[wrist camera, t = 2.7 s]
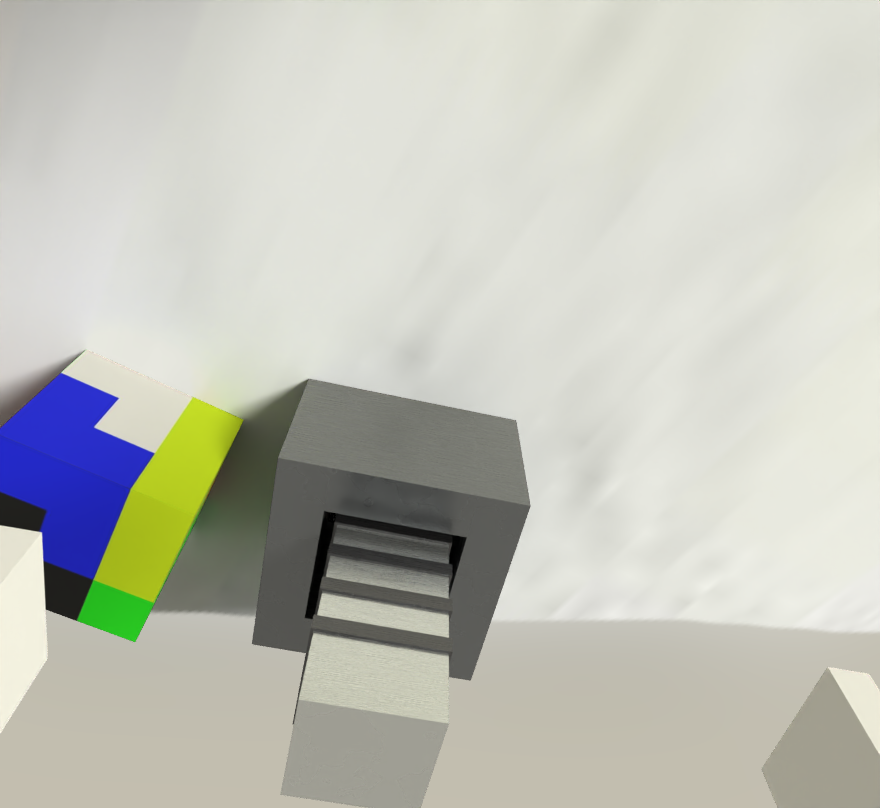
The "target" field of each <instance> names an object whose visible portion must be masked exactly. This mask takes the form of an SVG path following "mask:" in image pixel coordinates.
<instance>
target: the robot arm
mask: <svg viewBox="0 0 880 808" xmlns="http://www.w3.org/2000/svg"><path fill="white" fill-rule="evenodd" d="M47 652H48V651H47V630H46V609H45V588H44V567H43V546H42V532H36V531H30V530H25V529H19V528H13V527H7V526H1V525H0V733H1V731H2V730H3V728H4V727H5V725H6V724H7V722H8V720H9V719H10V717H11V716H12V714H13V712H14V711H15V709H16V708H17V706H18V704H19V703H20V701H21V700H22V698H23V697H24V695H25V693H26V692H27V690H28V688H29V687H30V685H31V684H32V682H33V681H34V679H35V677H36V676H37V674H38V673H39V671H40V670H41V668H42V666H43V665H44V663H45V662H46V660H47V658H48V653H47ZM762 772H763V774H764V777H765V779H766V781H767V784H768V786H769V788H770V791H771V793H772V796H773V798H774V800H775V803H776V805H777V808H880V690H879V689H878V687H877V686H876V684H875V682H874V681H873V679H872V678H871V676H870V675H869V674H866V673H861V672H855V671H849V670H843V669H837V668H831V667H827V669H826V670H825V672H824V673H823V675H822V676H821V678H820V680H819V681H818V683H817V684H816V686H815V687H814V689H813V691H812V692H811V693H810V695H809V697H808V698H807V700H806V701H805V703H804V704H803V706H802V707H801V709H800V710H799V712H798V713H797V715H796V717H795V718H794V720H793V721H792V723H791V724H790V726H789V727H788V729H787V730H786V732H785V733H784V735H783V737H782V738H781V740H780V741H779V743H778V744H777V746H776V747H775V749H774V750H773V752H772V753H771V755H770V757H769V758H768V760H767V761H766V763H765V764H764V766H763V768H762Z"/></svg>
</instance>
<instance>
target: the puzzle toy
mask: <svg viewBox="0 0 880 808" xmlns="http://www.w3.org/2000/svg"><path fill="white" fill-rule="evenodd" d="M242 423H243V419H241V418H239V417H236V416H234V415H232V414H230V413H227V412H225V411H223V410H221V409H218V408H216V407H214V406H212V405H209V404H207V403H205V402H203V401H201V400H198V399H196V398H194V397H192V396H189V395H187V394H185V393H183V392H180V391H178V390H176V389H174V388H172V387H169V386H167V385H165V384H163V383H160V382H158V381H156V380H154V379H151V378H149V377H147V376H145V375H143V374H140V373H138V372H136V371H134V370H131V369H129V368H127V367H125V366H122V365H120V364H118V363H116V362H114V361H111V360H109V359H107V358H105V357H102V356H100V355H98V354H96V353H93V352H91V351H89V350H85V351H84V352H83V353H82V354H81V355H80V356H79V357H78V358H77V359H76V360H74V361H73V362H72V363H71V364H70V365H69V366H68V367H67V368H66V369H64V370H63V371H62V372H61V373H60V374H59V375H58V376H57V377H56V378H55V379H53V380H52V381H51V382H50V383H49V384H48V385H47V386H46V387H45V388H44V389H42V390H41V391H40V392H39V393H38V394H37V395H36V396H35V397H34V398H33V399H31V400H30V401H29V402H28V403H27V404H26V405H25V406H24V407H23V408H22V409H20V410H19V411H18V412H17V413H16V414H15V415H14V416H13V417H12V418H11V419H9V420H8V421H7V422H6V423H5V424H4V425H3V426H2V427H1V428H0V525H1V526H7V527H13V528H19V529H25V530H30V531H36V532H42V546H43V567H44V588H45V609H46V610H49V611H52V612H54V613H57V614H60V615H62V616H65V617H68V618H70V619H73V620H76V621H79V622H81V623H84V624H87V625H90V626H93V627H95V628H98V629H100V630H103V631H106V632H109V633H111V634H114V635H117V636H120V637H122V638H125V639H128V640H131V641H133V642H135V641H136V639H137V637H138V635H139V633H140V631H141V630H142V628H143V626H144V624H145V622H146V620H147V618H148V616H149V614H150V612H151V610H152V608H153V606H154V604H155V602H156V600H157V598H158V596H159V594H160V592H161V590H162V588H163V586H164V584H165V582H166V580H167V578H168V576H169V574H170V572H171V570H172V568H173V566H174V564H175V562H176V560H177V558H178V556H179V554H180V552H181V550H182V548H183V546H184V544H185V542H186V540H187V538H188V536H189V534H190V532H191V530H192V528H193V526H194V524H195V522H196V520H197V518H198V516H199V513H200V511H201V509H202V507H203V505H204V503H205V501H206V499H207V496H208V494H209V492H210V490H211V488H212V486H213V484H214V482H215V480H216V477H217V475H218V473H219V471H220V469H221V467H222V465H223V463H224V461H225V458H226V456H227V454H228V452H229V450H230V448H231V446H232V444H233V442H234V439H235V437H236V435H237V433H238V431H239V429H240V427H241V425H242Z"/></svg>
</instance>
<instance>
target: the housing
mask: <svg viewBox="0 0 880 808" xmlns="http://www.w3.org/2000/svg"><path fill="white" fill-rule="evenodd" d="M529 509H530V500H529V494H528V488H527V482H526V476H525V470H524V464H523V458H522V453H521V447H520V441H519V435H518V429H517V423H516V420H511V419H506V418H501V417H496V416H491V415H486V414H481V413H476V412H471V411H466V410H461V409H456V408H451V407H446V406H441V405H436V404H431V403H426V402H421V401H416V400H411V399H406V398H401V397H397V396H392V395H387V394H382V393H377V392H372V391H367V390H362V389H357V388H352V387H347V386H342V385H337V384H332V383H327V382H322V381H317V380H312V379H308V382H307V385H306V387H305V390H304V392H303V395H302V397H301V400H300V402H299V405H298V408H297V410H296V413H295V415H294V418H293V420H292V423H291V426H290V428H289V431H288V433H287V436H286V438H285V441H284V443H283V446H282V449H281V451H280V454H279V456H278V461H277V468H276V475H275V482H274V490H273V497H272V504H271V511H270V518H269V526H268V533H267V540H266V547H265V554H264V561H263V569H262V576H261V583H260V590H259V597H258V605H257V612H256V619H255V626H254V633H253V640H252V644H254V645H260V646H266V647H272V648H279V649H285V650H290V651H296V652H302V653H306V651H307V645H308V640H309V635H310V629H311V625H312V620H313V616H314V615H315V611H316V605H317V600H318V595H319V590H320V585H321V581H322V576H323V575H324V570H325V565H326V560H327V554H328V550H329V545H330V543H331V539H332V534H333V529H334V523H335V522H330V521H328V518H329V513H330V512H332V513H338V514H343V515H348V516H354V517H359V518H365V519H370V520H375V521H381V522H386V523H392V524H397V525H402V526H408V527H413V528H419V529H424V530H430V531H435V532H440V533H446V534H451V535H452V546H451V549H450V553H449V564H451V565H452V578H451V582H450V585H449V599H453V612H452V615H451V618H450V621H449V638H453V653H452V656H451V660H450V663H449V677H452V678H458V679H465V680H471V678H472V675H473V672H474V669H475V666H476V663H477V660H478V657H479V654H480V651H481V649H482V646H483V643H484V640H485V637H486V634H487V631H488V628H489V625H490V623H491V620H492V617H493V614H494V611H495V608H496V605H497V602H498V599H499V596H500V593H501V590H502V588H503V585H504V582H505V579H506V576H507V573H508V570H509V567H510V564H511V561H512V558H513V555H514V553H515V550H516V547H517V544H518V541H519V538H520V535H521V532H522V529H523V526H524V523H525V520H526V518H527V515H528V512H529Z"/></svg>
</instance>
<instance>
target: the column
mask: <svg viewBox="0 0 880 808" xmlns="http://www.w3.org/2000/svg"><path fill="white" fill-rule="evenodd" d="M451 546H452V535H451V534H446V533H440V532H435V531H430V530H424V529H419V528H413V527H408V526H402V525H397V524H392V523H386V522H381V521H375V520H370V519H365V518H359V517H354V516H348V515H343V514H338V513H337V514H336V519H335V523H334V529H333V534H332V539H331V543H330V545H329V550H328V554H327V560H326V565H325V570H324V575H323V576H322V581H321V585H320V590H319V595H318V600H317V605H316V611H315V615H314V616H313V620H312V625H311V629H310V635H309V640H308V645H307V651H306V656H305V661H304V666H303V672H302V677H301V683H300V688H299V693H298V699H297V704H296V709H295V714H294V720H293V724H294V726H293V732H292V737H291V743H290V748H289V753H288V759H287V763H286V769H285V774H284V779H283V784H282V790H281V795H287V796H293V797H300V798H306V799H313V800H320V801H327V802H333V803H341V804H347V805H354V806H360V807H368V808H421V805H422V802H423V799H424V796H425V793H426V790H427V787H428V784H429V781H430V778H431V775H432V772H433V769H434V766H435V763H436V760H437V757H438V754H439V751H440V749H441V745H442V742H443V740H444V736H445V734H446V731H447V728H448V725H449V663H450V660H451V656H452V653H453V638H449V621H450V618H451V615H452V612H453V599H449V585H450V582H451V578H452V565H451V564H449V553H450V549H451Z"/></svg>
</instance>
